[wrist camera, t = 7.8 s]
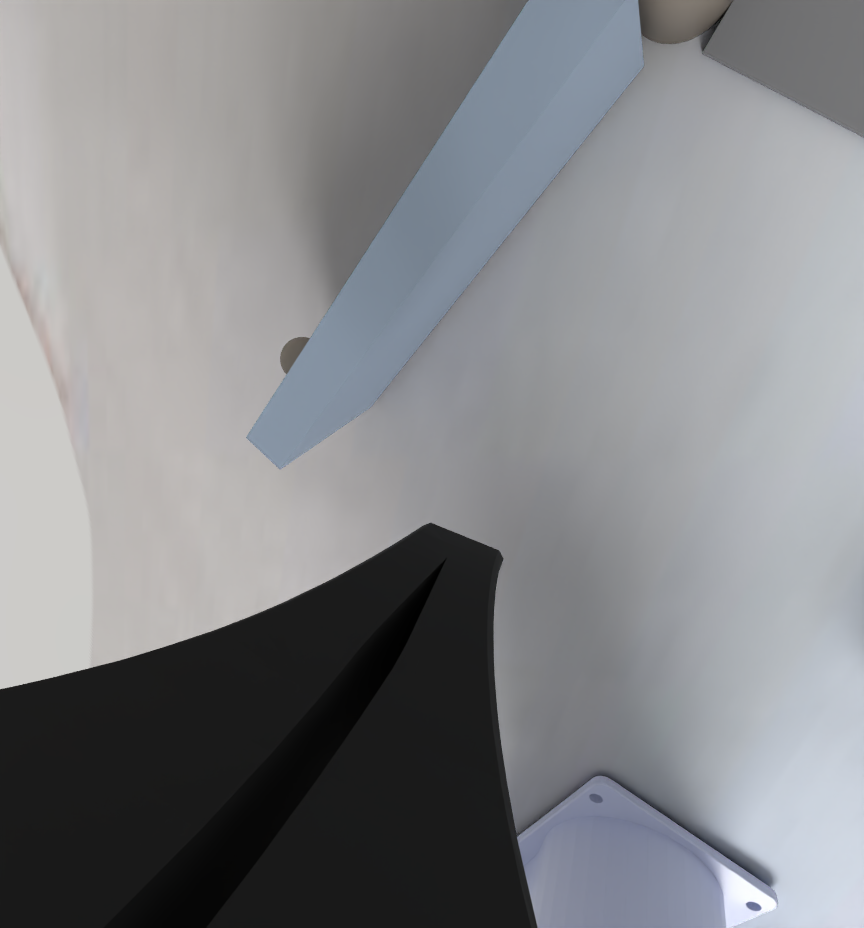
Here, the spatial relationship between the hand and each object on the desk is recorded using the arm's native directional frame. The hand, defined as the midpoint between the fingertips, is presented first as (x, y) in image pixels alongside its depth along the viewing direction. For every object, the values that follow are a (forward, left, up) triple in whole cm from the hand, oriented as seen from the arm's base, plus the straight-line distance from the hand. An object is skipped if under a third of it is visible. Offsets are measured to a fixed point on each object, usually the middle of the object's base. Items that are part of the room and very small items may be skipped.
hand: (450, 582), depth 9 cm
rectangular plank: (+3, +5, -8) cm, 10 cm away
